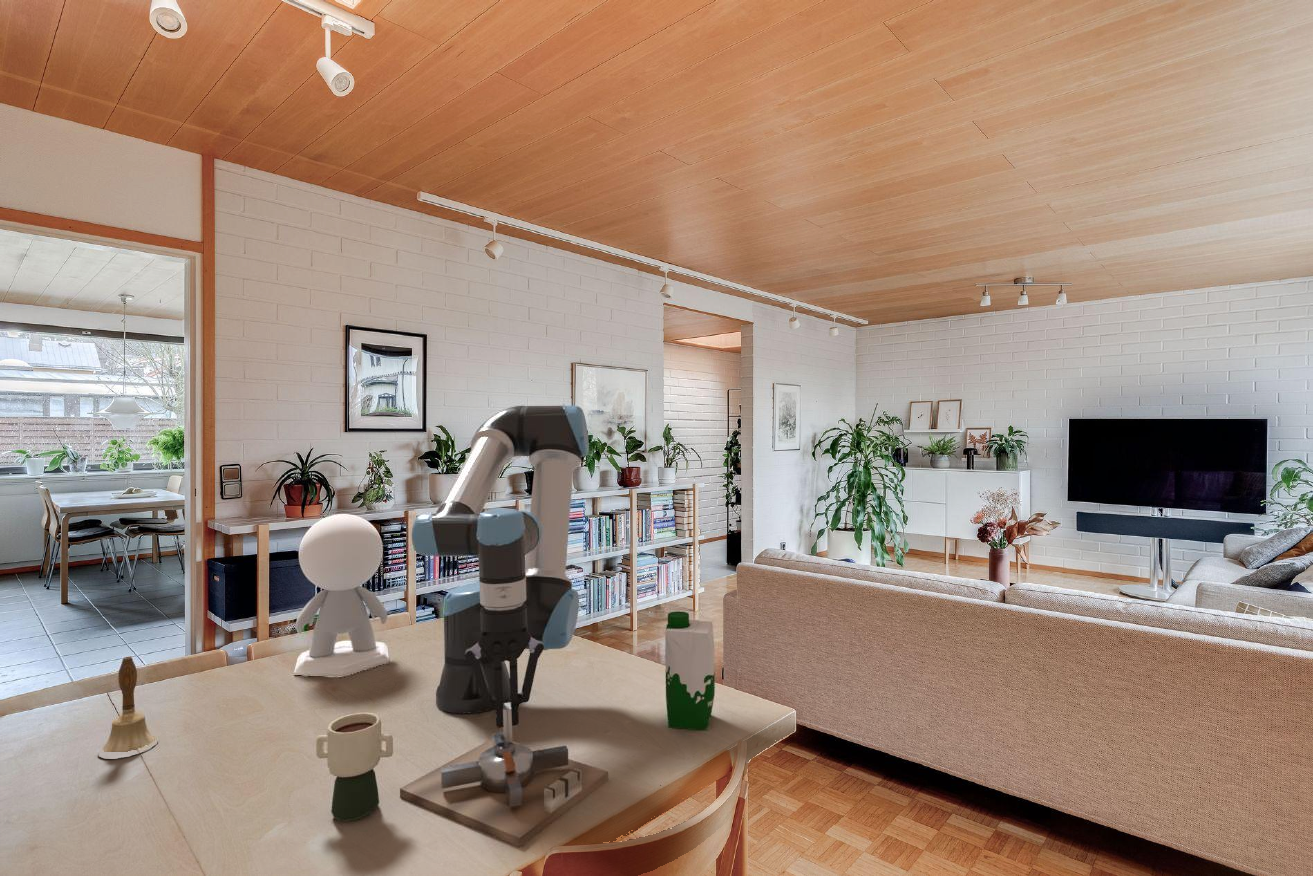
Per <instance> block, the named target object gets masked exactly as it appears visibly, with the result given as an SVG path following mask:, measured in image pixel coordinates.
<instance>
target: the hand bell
mask: <svg viewBox="0 0 1313 876" xmlns="http://www.w3.org/2000/svg"><path fill="white" fill-rule="evenodd" d="M117 678H118V684H119V685H118V686H119V689H120V691H121V694H122V707H121V710H122V714H121V715H120V716H117V717H116V718H115V719H114V720H113V721H112V722H111V731H110V735H109V737H108V739H107V740H106V743H105V744H104V745H103V746H104V747H103V746H102V747H103V750H104V752H128V751H131V750H137V749H138V748H142V747H144V746H145V745H149V744H150V743H152V742H153V741H155V739H156V738H157V737H156V735H154V736H153V734H152V733H151V732H150V731H149V729H148V726H147V724H146V723H147V722H146V717H145V716H146V715H144V713H141V712H138V711H136V710H135V709H136V708H135V707H136V705H135V688H136V686H137V681H138V670H137V666H136V665H135V662H134V660H133V657H132V656H126V657H125V656H124V657H123V658H122V661H121V665H120V667H119V670H118V676H117ZM155 737H156V738H155Z"/></svg>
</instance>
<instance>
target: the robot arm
mask: <svg viewBox="0 0 1313 876" xmlns="http://www.w3.org/2000/svg"><path fill="white" fill-rule="evenodd" d="M588 431H589V430H588V426H587V419H586V416H585V412H584V410H583V409H582V408H581V407H580V406H578V405H565V404H562V405H515V406H510V407H508V408H505V409H502V410H501V411H499V412H497V413H495V414H494V415H492V416H491V417H490V418H488V419H486V420H485V422H483V423H482V424H481V425H480V426H479V427H478V428H477V430H476V432H475V433H474V435H473V436H472V438H471V440H470V452H469V453H468V455H467V457H466V459H464V460H465V461H464V462H463V464H462V465H461V467H460V469H459V471H458V473H457V475H456V476H455V479H454V480H453V481H452V484H451V486H450V487H449V488H448V491H447V493H446V494H445V496H444V498H443V500H442V502H441V503H440V505H439V507H438V509H437V510H436V512H435V513H432V512H429V513H425V514H424V513H423V514H420V515H418V516H417V517H416V518H415V519H414V522H413V525H412V528H411V529H412V530H411V542H412V546H413V549H414V550H415V552H416V553H417V554H418V555H420V556H427V557H429V556H430V557H437V558H438V557H439V558H441V557H478V574H479V575H478V577H479V579H478V581H477V582H473V583H472V582H471V583H467V584H465V585H461V586H457V587H455V588H453V589H451V590H450V591H449V592H448V593H446V595H445V596H444V601H443V602H444V603H443V605H444V606H443V613H442V617H443V639H444V640H443V643H444V644H443V647H444V648H443V649H444V664H443V669H442V672H441V675H440V680H439V685H438V686H437V688H436V689H435V690H436V691H435V705H436V706H437V708H439V709H440V710H442V711H443V712H448V713H453V714H474V713H481V712H487V711H492V710H495V724H496V728H497V729H500V728H503V729H502V730H503V734H504V737H505V740H506V742H512V741H513V726H518V725H519V723H520V722H519V721H520V713H519V711H520V710H519V707H520V705H522V704H524V703H528V702H529V701H530V697H531V693H532V688H533V682H534V679H535V678H534V677H535V675H536V669H537V665H538V661H539V658H540V656H541V655H542V653H543V652H544V651H548V650H558V649H564V648H566V647H567V646H568V645H569V644H570V643H571V641H572V639H573V637H574V633H575V631H576V626H577V622H578V617H579V605H580V604H579V603H580V596H579V592H578V591H577V590H576V589H574V588H573V582H572V580H571V579H570V578H569V576H568V575H567V574H566V572H567V571H566V569H567V558H568V547H569V546H568V542H569V531H570V530H569V529H570V519H571V518H570V516H571V505H572V503H571V502H572V492H573V477H574V470H576V469H578V468H579V467H580V465H581V463H582V462H581V460H582V457H583V458H584V457H587V456H588V455H589V451H590V442H589V432H588ZM514 457H528V462H529V463H530V464H531V466H533V467H534V473H533V479H532V488H531V489H532V491H531V499H530V500H531V501H530V508H529V509H530V510H529V511H527V510H518V509H512V508H510V509H509V508H502V509H501V508H500V509H491V510H486V511H483V509H484V508H485V505H486V504H487V501H488V499H489V497H490V495H491V493H492V491H493V489H494V487H495V484H496V482H497V481H498V479H499V476H500V474H501V472H502V469H503V467H504V466H505V465H507V464H508V463H509V462H510V461H511V460H512V459H513V458H514ZM525 650H528V651H529V655H528V661H527V665H526V669H525V673H524V679H523V683H522V687H521V688H522V689H521V692H519V681H518V680H519V677H518V673H519V672H518V659H519V658H520V657H521V656H522V654H523V653H524V651H525ZM506 662H509V663H508V664H509V667H508V668H509V671H508V668H507V664H506ZM509 701H510V702H509Z"/></svg>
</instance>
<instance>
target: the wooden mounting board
mask: <svg viewBox="0 0 1313 876" xmlns="http://www.w3.org/2000/svg"><path fill="white" fill-rule="evenodd" d="M512 743H514V744H521V745H525V744H522V743H519V742H516V741H513V740H512ZM525 746H527V747H529V748H530V749H531V750H532V751H537V750H539V749H538V748H536V747H532V746H528V745H525ZM492 747H493V737H492V738H491V739H489V740H487V741H485V742H484V743H482V744H480V745H478V746H476V747H474V748H473V749H470V750H469V751H467V752H465V753H463V754H461V755H459V756H458V757H456V758H454V759H452V760H450V761H449V762H446V763H445V764H443V765H441V766H439V767H437V768H436V769H433V770H432V771H429V772H428V773H426V774H423V776H421V777H419V778H417V779H415V780H414V781H411V782H409V783H407V784H406V785H403V786H402V787H400V788H399V797H400V798H403V799H405V800H407V801H409V802H412V803H414V804H417V805H419V806H421V807H425V808H427V809H428V810H431V811H432V812H433V811H434V812H436V813H438V814H440V815H443V816H445V817H447V818H450V819H452V820H455V821H456V822H459V823H461V824H463V825H465V826H466V825H467V826H468V827H472V828H474V829H476V830H479V831H480V832H483V833H485V834H488V835H489V836H490V835H491V836H493V837H495V838H497V839H500V840H502V841H505V842H507V843H509V844H511V845H513V846H516V847H519V848H520V847H523V845H525V844H526V843H527V842H529V841H530V840H531V839H532V838H533V837H535V836H536V835H538V834H539V833H541V831H542V830H544V829H545V828H547V827H548V826H549V825H551V824H552V823H553V822H555V821H556V820H557V819H558V818H560V817H561V816H562V815H564V814H565V813H566V812H568V811H569V810H570V809H571V808H573V807H574V806H575V805H576V804H578V803H579V802H580V801H582V800H583V799H585V798H586V797H587V796H589V795H590V794H591V793H593V792H594V791H596V789H598V788H599V787H601V785H602V784H604V783H605V782H607V781H608V780H609V771H608V770H604V769H602V768H598V767H594V766H591V765H589V764H585V763H583V762H579V761H576V760H572V759H570V758H568V765H566V766H561V767H556V768H550V769H545V770H539V771H534V772H533V777H532V780H531V781H530V782H529V783H528V784H527V785H525V786H523V787H521V788H522V805H520V806H515V807H510V805H509V801H508V798H507V794H506V792H494V791H489V790H486V789H484V788H483V787H482V786H481V785H480V782H475V783H470V784H464V785H459V786H454V787H448V788H443V789H442V787H441V767H446V766H452V765H458V764H463V763H469V762H475V761H479V757H480V755H481V754H482V753H483V752H484V751H486V750H487V749H489V748H492Z"/></svg>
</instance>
